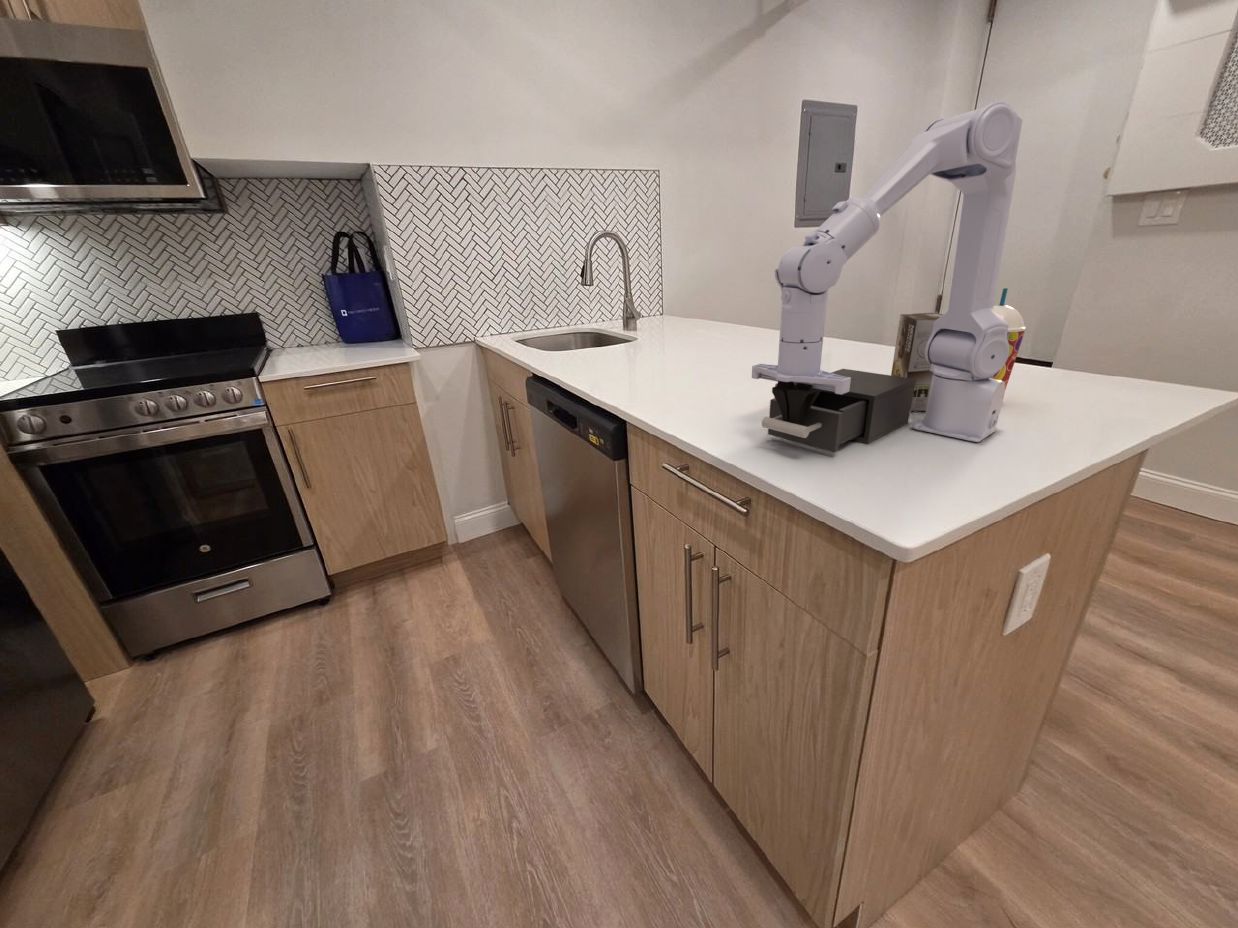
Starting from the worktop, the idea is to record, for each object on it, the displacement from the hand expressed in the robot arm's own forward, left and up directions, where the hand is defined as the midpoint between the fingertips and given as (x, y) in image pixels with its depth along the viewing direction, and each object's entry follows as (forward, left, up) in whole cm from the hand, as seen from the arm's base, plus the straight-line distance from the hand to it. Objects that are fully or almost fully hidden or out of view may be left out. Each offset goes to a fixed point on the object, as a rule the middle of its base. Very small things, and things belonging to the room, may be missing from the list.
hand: (793, 432), depth 75 cm
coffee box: (-2, -35, -3) cm, 36 cm away
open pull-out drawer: (0, -6, -2) cm, 6 cm away
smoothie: (-10, -44, -3) cm, 46 cm away
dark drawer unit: (0, -17, -3) cm, 18 cm away
